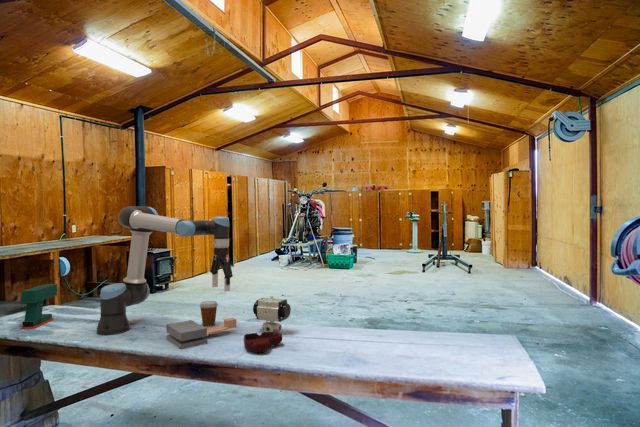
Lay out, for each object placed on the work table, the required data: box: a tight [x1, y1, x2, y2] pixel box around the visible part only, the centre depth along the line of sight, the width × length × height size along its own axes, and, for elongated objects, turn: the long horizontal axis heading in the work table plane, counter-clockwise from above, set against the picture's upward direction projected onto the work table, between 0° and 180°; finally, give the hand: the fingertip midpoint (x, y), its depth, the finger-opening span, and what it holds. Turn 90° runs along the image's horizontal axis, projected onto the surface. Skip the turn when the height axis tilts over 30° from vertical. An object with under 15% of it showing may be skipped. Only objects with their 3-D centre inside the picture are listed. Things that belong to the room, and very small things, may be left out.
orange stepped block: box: [206, 317, 237, 335], centre depth 197 cm, size 18×7×4 cm, turn 130°
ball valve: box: [252, 295, 292, 333], centre depth 200 cm, size 18×8×18 cm, turn 67°
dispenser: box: [165, 319, 210, 350], centre depth 187 cm, size 13×19×7 cm
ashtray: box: [243, 331, 283, 355], centre depth 177 cm, size 18×16×5 cm
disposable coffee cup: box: [199, 300, 219, 327], centre depth 214 cm, size 10×10×12 cm
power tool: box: [20, 283, 60, 330], centre depth 225 cm, size 32×7×20 cm, turn 6°
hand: (220, 289), depth 201 cm, fingers open, 13 cm apart
